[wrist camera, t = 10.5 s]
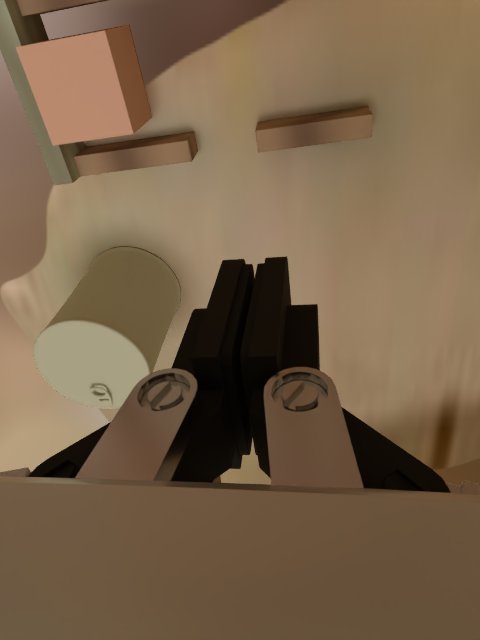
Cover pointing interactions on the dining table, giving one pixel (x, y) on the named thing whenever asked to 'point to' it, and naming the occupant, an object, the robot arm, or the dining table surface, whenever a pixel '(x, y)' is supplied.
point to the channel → (77, 160)
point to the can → (109, 328)
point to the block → (87, 85)
